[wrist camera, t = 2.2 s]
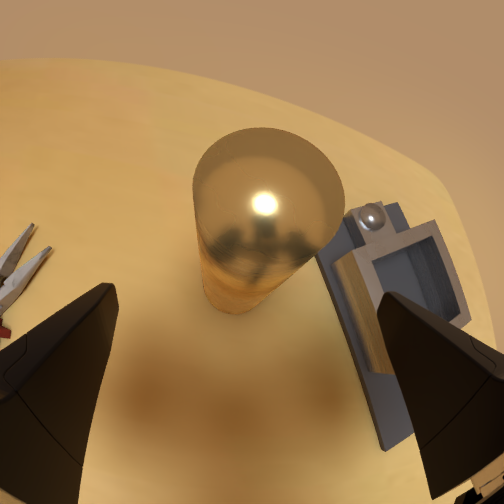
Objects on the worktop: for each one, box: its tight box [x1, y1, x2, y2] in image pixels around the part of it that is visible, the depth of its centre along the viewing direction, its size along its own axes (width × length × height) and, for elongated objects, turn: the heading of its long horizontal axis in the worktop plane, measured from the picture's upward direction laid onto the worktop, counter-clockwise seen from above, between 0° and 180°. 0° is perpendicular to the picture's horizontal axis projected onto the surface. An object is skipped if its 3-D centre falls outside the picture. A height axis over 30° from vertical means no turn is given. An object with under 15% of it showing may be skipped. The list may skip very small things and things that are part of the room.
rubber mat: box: [315, 202, 428, 452], centre depth 20 cm, size 18×9×1 cm, turn 20°
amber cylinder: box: [193, 128, 345, 314], centre depth 13 cm, size 4×4×12 cm
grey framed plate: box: [330, 201, 471, 375], centre depth 18 cm, size 17×8×4 cm, turn 20°
